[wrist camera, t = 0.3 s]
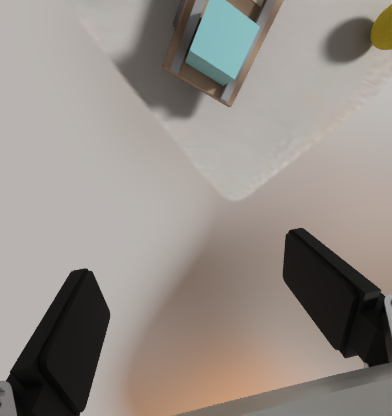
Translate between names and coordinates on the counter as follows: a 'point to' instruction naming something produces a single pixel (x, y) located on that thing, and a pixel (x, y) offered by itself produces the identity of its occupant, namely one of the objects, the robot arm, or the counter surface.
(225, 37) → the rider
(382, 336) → the robot arm
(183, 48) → the wooden tray
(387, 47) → the lemon
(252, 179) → the counter surface
